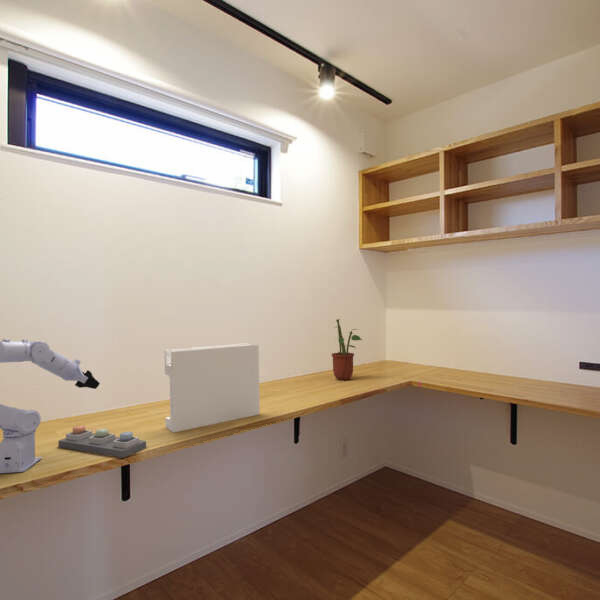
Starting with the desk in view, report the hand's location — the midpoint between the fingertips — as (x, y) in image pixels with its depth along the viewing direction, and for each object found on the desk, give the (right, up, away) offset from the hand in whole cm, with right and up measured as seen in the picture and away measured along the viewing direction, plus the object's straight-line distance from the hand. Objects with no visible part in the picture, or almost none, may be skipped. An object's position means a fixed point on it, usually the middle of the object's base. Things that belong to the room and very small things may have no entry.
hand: (91, 382), depth 132 cm
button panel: (+8, -19, -8) cm, 22 cm away
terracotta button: (-2, -15, -4) cm, 16 cm away
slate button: (+17, -15, -12) cm, 25 cm away
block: (+37, -19, +19) cm, 46 cm away
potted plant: (+97, -19, +100) cm, 141 cm away
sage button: (+8, -15, -8) cm, 19 cm away
